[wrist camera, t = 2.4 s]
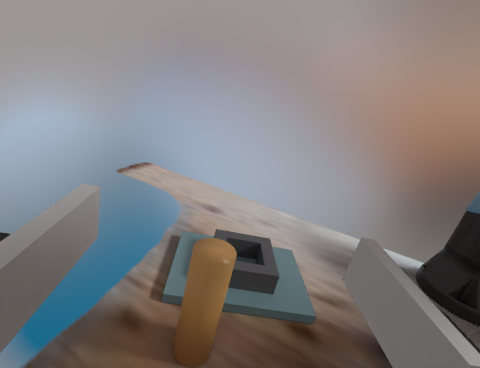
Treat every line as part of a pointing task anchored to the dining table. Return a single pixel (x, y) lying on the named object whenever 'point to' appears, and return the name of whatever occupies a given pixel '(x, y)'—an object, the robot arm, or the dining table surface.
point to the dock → (245, 300)
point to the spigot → (203, 300)
